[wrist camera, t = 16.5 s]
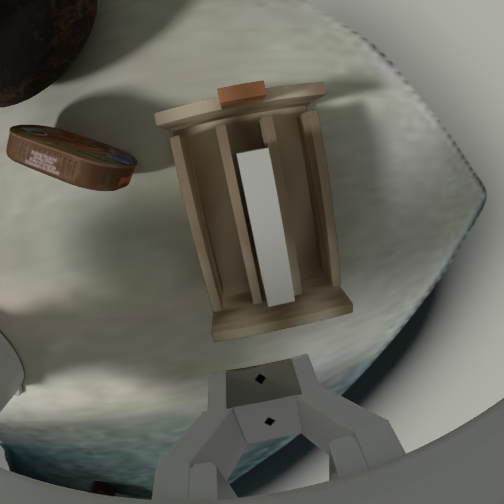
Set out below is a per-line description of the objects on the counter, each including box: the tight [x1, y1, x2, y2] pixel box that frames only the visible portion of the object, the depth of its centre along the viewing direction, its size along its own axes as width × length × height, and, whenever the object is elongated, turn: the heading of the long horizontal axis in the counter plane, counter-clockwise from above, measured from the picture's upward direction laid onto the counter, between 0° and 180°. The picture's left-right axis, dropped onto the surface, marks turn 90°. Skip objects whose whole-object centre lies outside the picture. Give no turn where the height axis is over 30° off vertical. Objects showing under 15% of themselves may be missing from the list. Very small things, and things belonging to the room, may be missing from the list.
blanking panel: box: [236, 148, 295, 307], centre depth 25 cm, size 2×11×10 cm, turn 11°
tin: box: [6, 125, 137, 191], centre depth 23 cm, size 15×3×8 cm, turn 66°
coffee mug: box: [88, 481, 115, 497], centre depth 46 cm, size 12×9×10 cm
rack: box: [154, 81, 353, 342], centre depth 25 cm, size 13×20×11 cm, turn 11°
